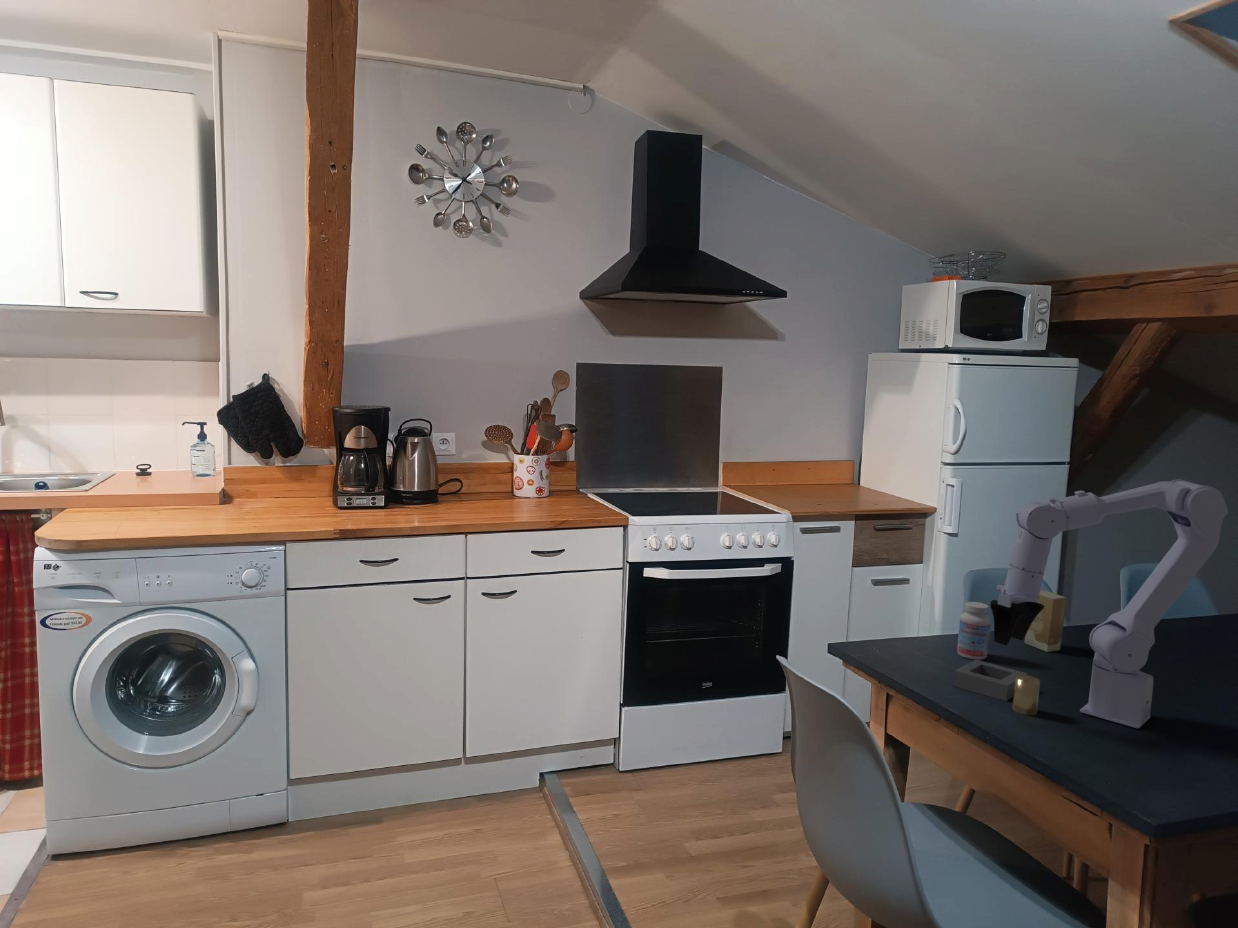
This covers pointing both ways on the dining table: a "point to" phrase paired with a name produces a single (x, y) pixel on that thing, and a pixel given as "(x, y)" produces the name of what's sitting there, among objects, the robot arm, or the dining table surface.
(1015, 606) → the robot arm
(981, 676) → the coupling block
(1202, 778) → the dining table surface
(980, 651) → the pill bottle
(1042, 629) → the skincare box
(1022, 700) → the brass cylinder
